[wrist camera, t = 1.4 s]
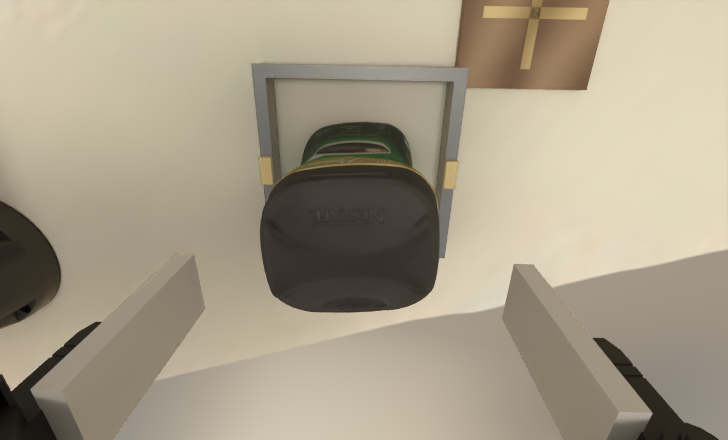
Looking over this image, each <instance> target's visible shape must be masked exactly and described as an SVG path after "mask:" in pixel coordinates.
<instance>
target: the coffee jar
mask: <svg viewBox="0 0 728 440" xmlns="http://www.w3.org/2000/svg"><path fill="white" fill-rule="evenodd" d="M260 241H261V252H262V259H263V264H264V269H265V273H266V277H267V281H268V284H269V287H270V290H271V292H272V294H273V295H274V296H275V297H276V298H278V299H279V300H281V301H282V302H284V303H285V304H287V305H289V306H292V307H294V308H297V309H300V310H304V311H310V312H370V311H381V310H394V309H400V308H404V307H407V306H410V305H412V304H415V303H417V302H418V301H420V300H422V299H423V298H425V297H426V296H427V295H428V294H429V293H430V292H431V291H432V289H433V287H434V284H435V280H436V275H437V269H438V262H439V247H440V227H439V210H438V202H437V198H436V194H435V191H434V189H433V188H432V186H431V184H430V183H429V182H428V181H427V179H426V178H425V177H424V176H423V175H422V174H421V173H419V172H418V171H416V170H415V169H413V168H412V160H411V153H410V148H409V145H408V142H407V140H406V138H405V136H404V135H403V133H402V132H401V131H400V130H398V129H397V128H395V127H393V126H391V125H388V124H381V123H367V122H366V123H362V122H361V123H344V124H337V125H331V126H327V127H323V128H321V129H319V130H318V131H316V132H315V133H314V134H313V135H312V136H311V138H310V139H309V141H308V143H307V145H306V147H305V150H304V154H303V159H302V163H301V166H299V167H298V168H296V169H295V170H293V171H291V172H289V173H288V174H286V175H285V176H284V177H282V178H281V179H280V180H279V181H278V182H277V183H276V184H275V186H274V187H273V188H272V190H271V192H270V194H269V197H268V200H267V202H266V204H265V206H264V209H263V213H262V219H261V226H260Z"/></svg>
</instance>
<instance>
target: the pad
mask: <svg viewBox="0 0 728 440" xmlns="http://www.w3.org/2000/svg"><path fill="white" fill-rule="evenodd" d="M608 4H609V0H463V3H462V12H461V21H460V29H459V38H458V47H457V56H456V65H455V68H469V70H468V78H467V85H466V87H467V88H515V89H563V90H586V89H587V86H588V82H589V78H590V74H591V70H592V66H593V62H594V58H595V54H596V51H597V47H598V43H599V39H600V35H601V31H602V27H603V23H604V20H605V16H606V12H607V8H608Z"/></svg>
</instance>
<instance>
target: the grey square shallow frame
mask: <svg viewBox="0 0 728 440" xmlns="http://www.w3.org/2000/svg"><path fill="white" fill-rule="evenodd" d="M251 65H252V75H253V85H254V95H255V104H256V114H257V124H258V134H259V144H260V154H261V156H260V157H259V165H260V175H261V184H264V193H265V203H266V202H267V200H268V197H269V194H270V192H271V190H272V188H273V187H274V186H275V184H276V183H277V182H278V181H279V180H280V179H281V167H280V155H279V142H278V129H277V117H276V104H275V92H274V79H273V78H309V79H358V80H406V81H448V84H447V93H446V103H445V112H444V121H443V131H442V140H441V150H440V159H439V168H438V178H437V187H436V198H437V202H438V210H439V227H440V247H439V258H445V250H446V242H447V235H448V227H449V219H450V211H451V203H452V195H453V189H455V186H456V178H457V170H458V163H459V162H458V161H457V156H458V148H459V140H460V133H461V125H462V117H463V109H464V101H465V93H466V85H467V78H468V70H469V68H446V67H396V66H347V65H297V64H251Z"/></svg>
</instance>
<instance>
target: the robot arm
mask: <svg viewBox="0 0 728 440" xmlns="http://www.w3.org/2000/svg"><path fill="white" fill-rule="evenodd" d="M59 280H60V275H59V267H58V263H57V260H56V258H55V255H54V253H53V251H52V249H51V247H50V246H49V244H48V243H47V241H46V240H45V238H44V237H43V236H42V235H41V233H40V232H39V231H38V230H37V229H36V228H35V227H34V226H33V225H32V224H31V223H30V222H29V221H28V220H26V219H25V218H24V217H23V216H21V215H20V214H19V213H17V212H16V211H14V210H13V209H11V208H10V207H8V206H6V205H5V204H3V203H1V202H0V329H1V328H4V327H7V326H9V325H12V324H15V323H17V322H20V321H22V320H24V319H26V318H28V317H30V316H31V315H33V314H34V313H35V312H37V311H38V310H39V309H41V308H42V307H44V306H45V305H46V304H48V303H49V302H50V301H51V300H52V298H53V297H54V296H55V294H56V292H57V289H58V286H59ZM204 309H205V307H204V302H203V297H202V292H201V287H200V282H199V277H198V272H197V267H196V262H195V257H194V254H175V255H174V256H173V257H172V258H171V259H169V260H168V261H167V262H166V263H165V264H164V265H163V266H162V267H161V268H160V269H159V270H158V271H157V272H155V273H154V274H153V275H152V276H151V277H150V278H149V279H148V280H147V281H146V282H145V283H144V284H143V285H142V286H140V287H139V288H138V289H137V290H136V291H135V292H134V293H133V294H132V295H131V296H130V297H129V298H128V299H127V300H125V301H124V302H123V303H122V304H121V305H120V306H119V307H118V308H117V309H116V310H115V311H114V312H113V313H112V314H110V315H109V316H108V317H107V318H106V319H105V320H104V321H103V322H95V323H93V324H91V325H90V326H88V327H86V328H84V329H83V330H81V331H79V332H78V333H77V334H75V335H74V336H73V337H72V338H71V339H70V340H69V341H68V342H66V343H65V344H64V347H61V348H60V349H59V350H57V351H56V352H55V353H54V354H53V355H52V358H48V359H47V360H46V361H45V362H44V363H43V364H42V365H41V366H39V367H38V368H37V369H36V370H35V371H34V372H33V373H32V374H31V375H29V376H28V377H27V378H26V379H25V380H24V381H23V382H22V383H20V384H19V385H18V386H17V387H16V388H15V389H14V390H13V391H11V390H10V388H9V386H8V385H7V383H6V381H5V379H4V377H3V375H1V374H0V440H112V439H113V438H114V437H115V435H116V434H117V433H118V431H119V430H120V428H121V427H122V425H123V424H124V423H125V421H126V420H127V418H128V417H129V416H130V414H131V413H132V411H133V410H134V408H135V407H136V406H137V404H138V403H139V401H140V400H141V398H142V397H143V396H144V394H145V393H146V391H147V390H148V389H149V387H150V386H151V384H152V383H153V382H154V380H155V379H156V377H157V376H158V374H159V373H160V372H161V370H162V369H163V367H164V366H165V365H166V363H167V362H168V360H169V359H170V357H171V356H172V355H173V353H174V352H175V350H176V349H177V348H178V346H179V345H180V343H181V342H182V340H183V339H184V338H185V336H186V335H187V333H188V332H189V331H190V329H191V328H192V326H193V325H194V323H195V322H196V321H197V319H198V318H199V316H200V315H201V314H202V312H203V311H204ZM502 319H503V321H504V323H505V325H506V327H507V329H508V331H509V333H510V335H511V337H512V339H513V341H514V343H515V345H516V347H517V349H518V351H519V353H520V355H521V357H522V359H523V361H524V363H525V364H526V367H527V368H528V371H529V373H530V375H531V376H532V378H533V380H534V382H535V384H536V386H537V388H538V390H539V392H540V394H541V396H542V398H543V400H544V402H545V404H546V406H547V408H548V410H549V412H550V414H551V416H552V418H553V420H554V421H555V424H556V426H557V428H558V430H559V432H560V434H561V436H562V437H563V439H564V440H718V439H717V438H716V437H715V436H713V435H712V434H710V433H708V432H706V431H705V430H703V429H701V428H699V427H696V426H694V425H691V424H688V423H684V422H683V421H682V420H681V419H680V418H679V417H678V416H677V414H676V413H675V412H674V411H673V410H672V408H671V407H670V406H669V405H668V404H667V403H666V402H665V400H664V399H663V398H662V397H661V396H660V395H659V394H658V392H656V390H655V389H654V388H653V387H652V386H651V384H650V383H649V382H648V381H647V380H646V379H645V378H643V375H642V374H641V373H640V372H639V371H638V369H637V368H636V367H633V364H632V363H631V361H630V360H629V359H628V358H627V357H626V356H625V355H624V353H623V352H622V351H621V350H620V349H618V348H617V347H616V346H614V345H613V344H611V343H610V342H609V341H607V340H606V339H604V338H592V337H591V336H590V335H589V333H588V332H587V331H586V330H585V329H584V328H583V326H582V325H581V323H580V322H579V321H578V320H577V319H576V318H575V316H574V315H573V314H572V312H571V311H570V310H569V309H568V307H567V306H566V305H565V304H564V302H563V301H562V300H561V299H560V297H559V296H558V295H557V294H556V292H555V291H554V290H553V289H552V287H551V286H550V285H549V284H548V283H547V281H546V280H545V279H544V278H543V276H542V275H541V274H540V273H539V271H538V270H537V269H536V268H535V266H534V265H528V264H514V267H513V271H512V276H511V280H510V285H509V289H508V294H507V299H506V303H505V308H504V312H503V317H502Z"/></svg>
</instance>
